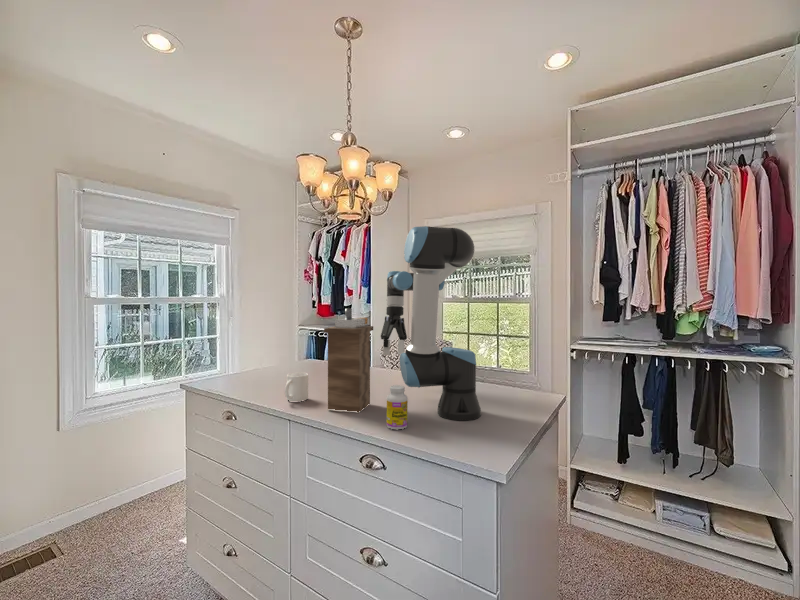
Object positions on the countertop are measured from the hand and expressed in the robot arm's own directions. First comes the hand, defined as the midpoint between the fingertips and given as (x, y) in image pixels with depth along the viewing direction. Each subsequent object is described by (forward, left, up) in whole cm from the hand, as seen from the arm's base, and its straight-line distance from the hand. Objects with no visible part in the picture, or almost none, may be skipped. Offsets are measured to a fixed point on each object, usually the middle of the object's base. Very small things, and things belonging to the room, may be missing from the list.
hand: (394, 354), depth 169 cm
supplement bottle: (-34, +32, -16) cm, 49 cm away
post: (-6, +29, -16) cm, 34 cm away
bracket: (-3, +24, +14) cm, 28 cm away
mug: (+16, +39, -16) cm, 45 cm away
